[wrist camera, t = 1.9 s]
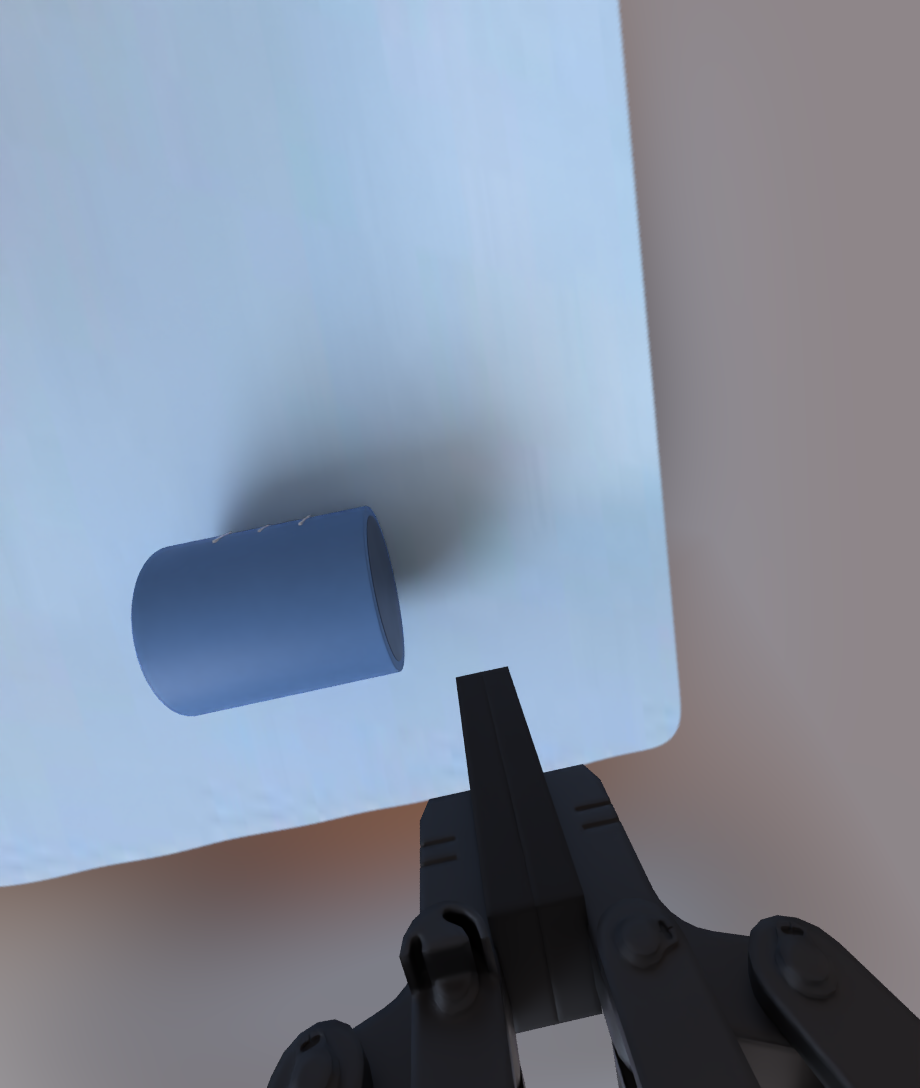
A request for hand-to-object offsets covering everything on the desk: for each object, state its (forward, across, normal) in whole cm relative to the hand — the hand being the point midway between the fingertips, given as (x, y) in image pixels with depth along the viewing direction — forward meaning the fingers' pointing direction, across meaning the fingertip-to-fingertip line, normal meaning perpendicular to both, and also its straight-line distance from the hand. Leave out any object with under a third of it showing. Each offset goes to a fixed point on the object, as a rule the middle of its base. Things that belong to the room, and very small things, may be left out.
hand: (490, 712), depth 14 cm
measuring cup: (+15, -9, 0) cm, 18 cm away
